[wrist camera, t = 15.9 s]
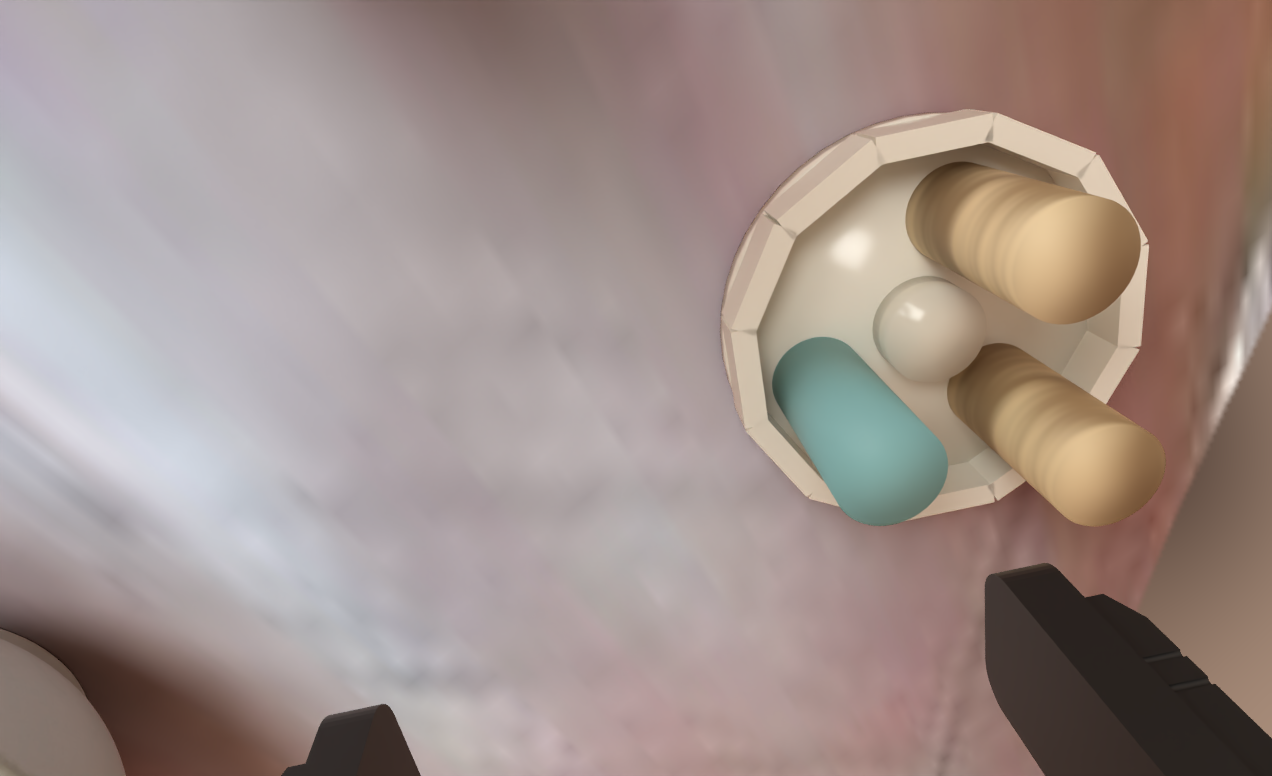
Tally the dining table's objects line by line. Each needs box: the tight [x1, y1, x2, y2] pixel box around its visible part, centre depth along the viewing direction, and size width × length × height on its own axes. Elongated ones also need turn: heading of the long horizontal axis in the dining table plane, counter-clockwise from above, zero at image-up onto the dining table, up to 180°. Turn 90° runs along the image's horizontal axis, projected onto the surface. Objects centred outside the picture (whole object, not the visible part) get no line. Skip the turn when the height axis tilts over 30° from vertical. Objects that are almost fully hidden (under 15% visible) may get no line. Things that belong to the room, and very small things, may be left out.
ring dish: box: [720, 109, 1149, 521], centre depth 39 cm, size 20×20×4 cm
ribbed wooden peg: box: [947, 343, 1166, 526], centre depth 37 cm, size 5×5×10 cm
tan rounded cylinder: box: [905, 161, 1141, 324], centre depth 33 cm, size 5×5×10 cm
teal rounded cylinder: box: [772, 337, 948, 526], centre depth 36 cm, size 5×5×10 cm
